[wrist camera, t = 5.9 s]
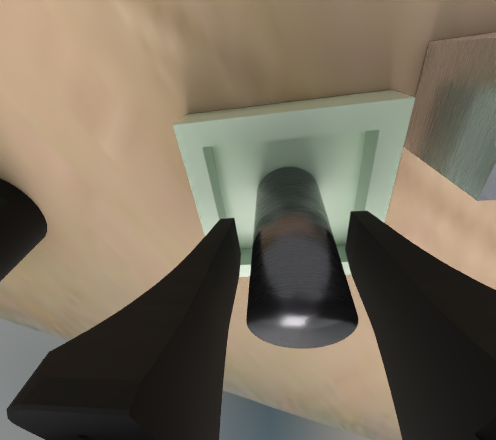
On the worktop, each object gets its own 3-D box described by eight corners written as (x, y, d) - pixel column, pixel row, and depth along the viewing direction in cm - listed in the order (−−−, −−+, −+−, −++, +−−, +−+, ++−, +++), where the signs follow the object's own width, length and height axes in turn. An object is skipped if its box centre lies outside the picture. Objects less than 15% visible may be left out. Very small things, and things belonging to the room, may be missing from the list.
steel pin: (314, 219, 13) (345, 350, 8) (257, 218, 14) (248, 345, 8) (323, 166, 11) (372, 294, 6) (256, 167, 12) (243, 289, 6)
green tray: (361, 249, 15) (371, 273, 13) (222, 254, 16) (216, 277, 15) (392, 89, 10) (415, 97, 8) (186, 114, 11) (172, 125, 10)
